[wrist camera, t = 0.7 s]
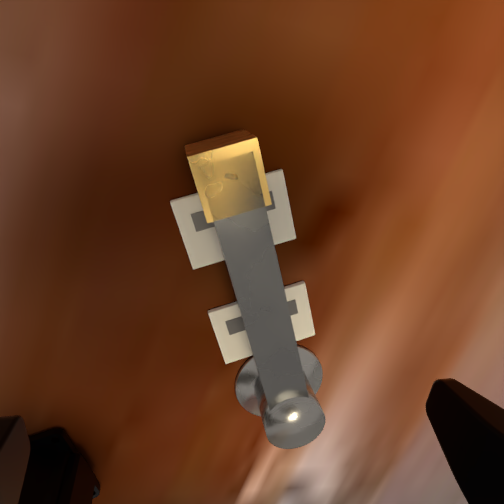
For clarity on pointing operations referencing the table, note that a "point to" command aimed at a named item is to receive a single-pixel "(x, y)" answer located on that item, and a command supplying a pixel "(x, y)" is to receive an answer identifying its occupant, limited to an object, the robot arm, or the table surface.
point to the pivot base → (250, 374)
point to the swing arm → (256, 281)
